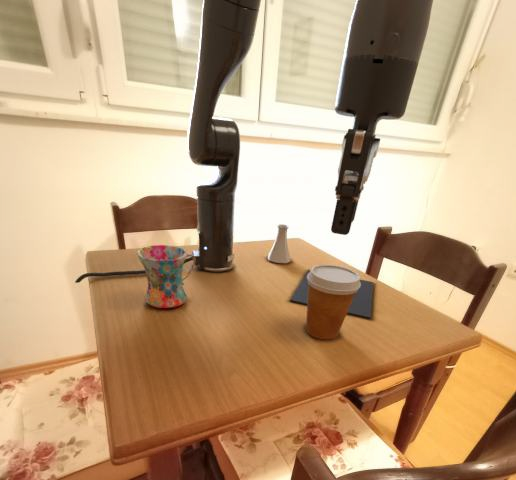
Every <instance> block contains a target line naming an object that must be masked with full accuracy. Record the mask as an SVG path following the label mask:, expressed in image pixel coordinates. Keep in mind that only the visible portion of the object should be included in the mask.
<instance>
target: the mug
mask: <svg viewBox="0 0 516 480" xmlns="http://www.w3.org/2000/svg"><path fill="white" fill-rule="evenodd" d="M136 255H137V257H138V259H139V261H140V263H141V265H142V268H143V270H145V272H146V274H145V275H146V281H147V290H146V294H145V297H144V300H145V302H146V303H147V304H148V305H149V306H152V307H153V308H159V309H171V308H177V307H179V306H181V305H183V304H185V303H186V301H187V300H188V296H187V293H186V292H185V290H184V287H183V286H184V285H185V283H184V282H183V281H185V280H186V279H187V278H189V276H190V275H191V274H192V272H193V271H194V268H195V267H196V265H195V263H196V259H195V257H194V256H193V255H192V253H188V252H187V250H186V249H184V248H182V247H180V246H176V245H167V244H153V245H148V246H144V247H142V248H139V249H138V250H137V252H136ZM189 257H192V258H193V260H192V264H191V266H190V268H189V270H188V272H186V274H185V275H184V276H183V268H184V261H185V259H187V258H189Z"/></svg>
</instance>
